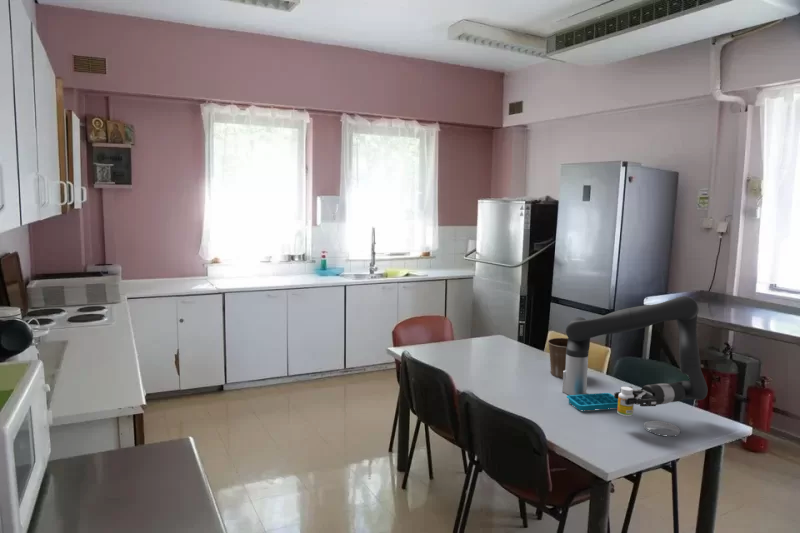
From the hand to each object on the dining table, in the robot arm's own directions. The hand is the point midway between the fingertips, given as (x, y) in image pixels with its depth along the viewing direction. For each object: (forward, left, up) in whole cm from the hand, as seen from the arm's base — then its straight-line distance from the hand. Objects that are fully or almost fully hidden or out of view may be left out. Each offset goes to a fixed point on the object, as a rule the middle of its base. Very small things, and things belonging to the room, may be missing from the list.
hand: (620, 398), depth 199 cm
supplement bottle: (+1, +2, -6) cm, 7 cm away
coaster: (+12, +11, -12) cm, 20 cm away
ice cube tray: (-16, +17, -13) cm, 27 cm away
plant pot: (-43, +45, -12) cm, 64 cm away
